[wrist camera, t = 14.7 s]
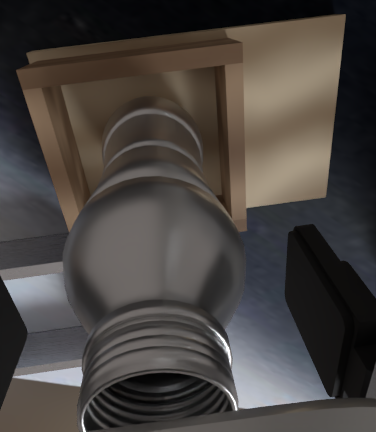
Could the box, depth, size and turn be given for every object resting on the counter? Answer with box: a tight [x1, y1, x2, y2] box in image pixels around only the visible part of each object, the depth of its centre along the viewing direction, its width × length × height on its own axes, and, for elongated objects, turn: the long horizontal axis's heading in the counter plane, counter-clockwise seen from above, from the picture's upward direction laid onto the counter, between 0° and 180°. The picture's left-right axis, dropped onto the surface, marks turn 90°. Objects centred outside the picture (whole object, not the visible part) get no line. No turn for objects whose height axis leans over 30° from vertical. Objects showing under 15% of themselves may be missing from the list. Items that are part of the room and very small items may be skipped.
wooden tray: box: [16, 14, 346, 232], centre depth 24 cm, size 13×20×6 cm, turn 96°
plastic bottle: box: [63, 96, 246, 432], centre depth 16 cm, size 6×7×20 cm
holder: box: [0, 233, 89, 376], centre depth 31 cm, size 12×12×4 cm
